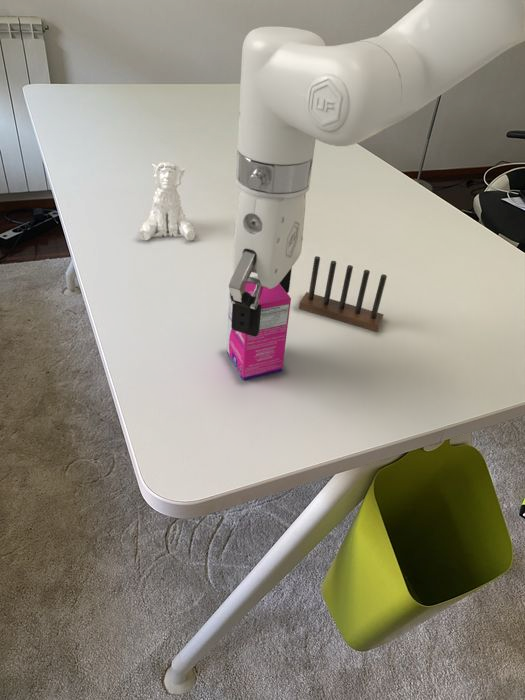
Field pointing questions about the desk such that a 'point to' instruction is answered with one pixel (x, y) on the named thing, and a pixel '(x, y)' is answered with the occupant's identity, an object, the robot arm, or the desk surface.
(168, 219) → the white creature statuette
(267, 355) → the supplement box
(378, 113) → the robot arm
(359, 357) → the desk surface
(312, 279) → the rack
